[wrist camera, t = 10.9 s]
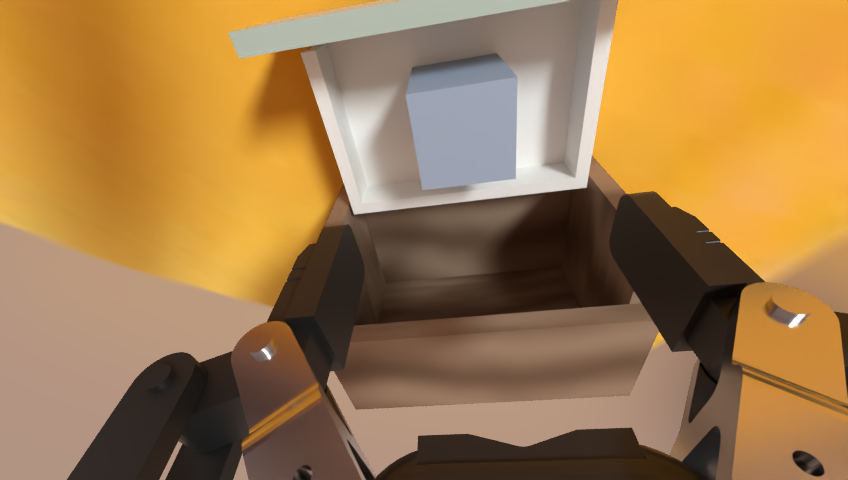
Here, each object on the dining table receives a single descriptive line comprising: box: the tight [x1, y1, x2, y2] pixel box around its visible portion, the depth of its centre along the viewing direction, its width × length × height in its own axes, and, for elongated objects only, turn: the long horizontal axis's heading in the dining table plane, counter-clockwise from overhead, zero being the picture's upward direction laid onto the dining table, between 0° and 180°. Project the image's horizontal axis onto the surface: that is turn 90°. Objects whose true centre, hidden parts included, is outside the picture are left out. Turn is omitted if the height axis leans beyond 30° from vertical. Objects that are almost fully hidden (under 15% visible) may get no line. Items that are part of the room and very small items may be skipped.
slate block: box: [406, 53, 518, 190], centre depth 19 cm, size 5×5×6 cm
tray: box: [228, 0, 618, 215], centre depth 19 cm, size 12×19×6 cm, turn 99°
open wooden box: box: [324, 156, 659, 409], centre depth 25 cm, size 12×19×13 cm, turn 99°
